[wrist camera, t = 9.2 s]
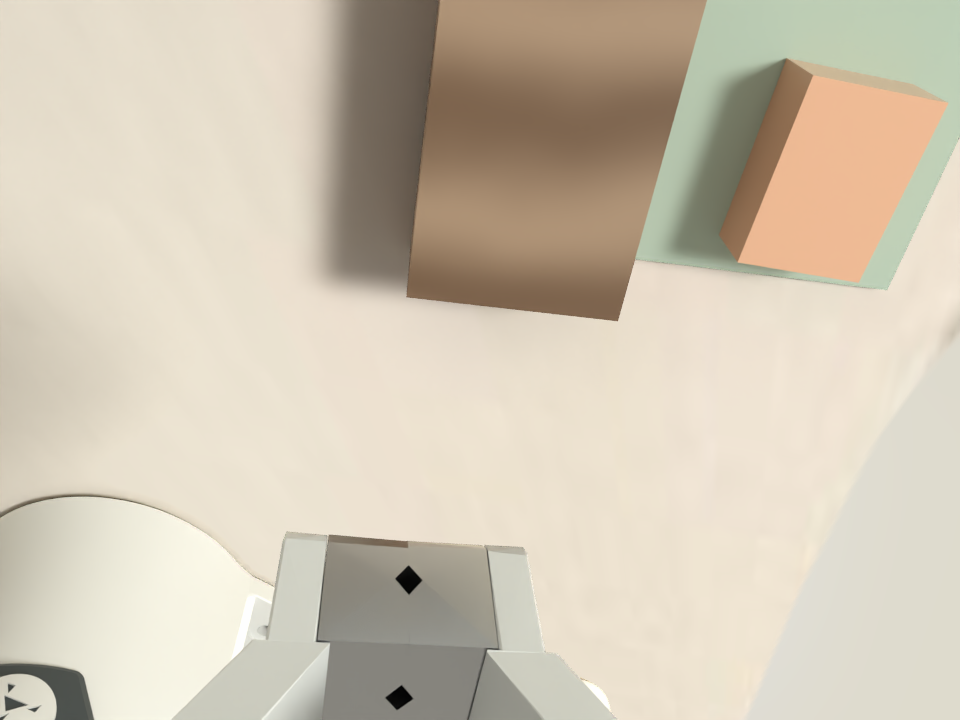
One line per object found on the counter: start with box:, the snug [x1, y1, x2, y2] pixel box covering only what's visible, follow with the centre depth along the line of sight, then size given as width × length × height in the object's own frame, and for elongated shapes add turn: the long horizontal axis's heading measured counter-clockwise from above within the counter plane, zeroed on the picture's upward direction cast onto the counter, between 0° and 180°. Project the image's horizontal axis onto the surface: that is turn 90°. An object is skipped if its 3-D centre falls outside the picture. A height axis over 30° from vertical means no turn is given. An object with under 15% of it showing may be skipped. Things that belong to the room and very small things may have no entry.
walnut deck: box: [407, 0, 707, 321], centre depth 28 cm, size 14×8×4 cm, turn 171°
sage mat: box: [635, 0, 960, 290], centre depth 30 cm, size 14×12×1 cm
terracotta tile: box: [719, 58, 948, 283], centre depth 30 cm, size 7×5×2 cm
